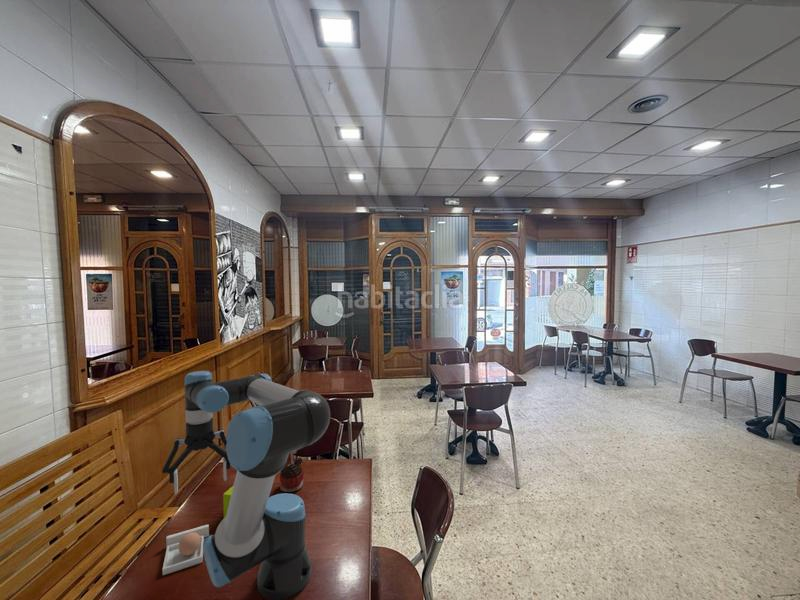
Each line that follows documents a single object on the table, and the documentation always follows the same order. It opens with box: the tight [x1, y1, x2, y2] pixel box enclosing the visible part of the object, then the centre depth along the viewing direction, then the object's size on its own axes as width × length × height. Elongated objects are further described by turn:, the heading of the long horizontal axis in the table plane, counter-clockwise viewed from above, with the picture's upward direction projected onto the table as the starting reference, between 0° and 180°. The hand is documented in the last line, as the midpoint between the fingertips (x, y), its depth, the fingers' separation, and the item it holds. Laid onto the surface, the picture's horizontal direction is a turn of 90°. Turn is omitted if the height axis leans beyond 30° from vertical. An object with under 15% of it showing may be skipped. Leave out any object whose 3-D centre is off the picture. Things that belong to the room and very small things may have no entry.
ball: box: [178, 532, 201, 556], centre depth 107 cm, size 6×6×6 cm
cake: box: [279, 450, 304, 493], centre depth 143 cm, size 11×9×18 cm
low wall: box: [165, 524, 210, 547], centre depth 113 cm, size 1×12×4 cm, turn 118°
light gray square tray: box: [162, 535, 205, 576], centre depth 106 cm, size 10×10×2 cm
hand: (201, 485), depth 108 cm, fingers open, 13 cm apart
